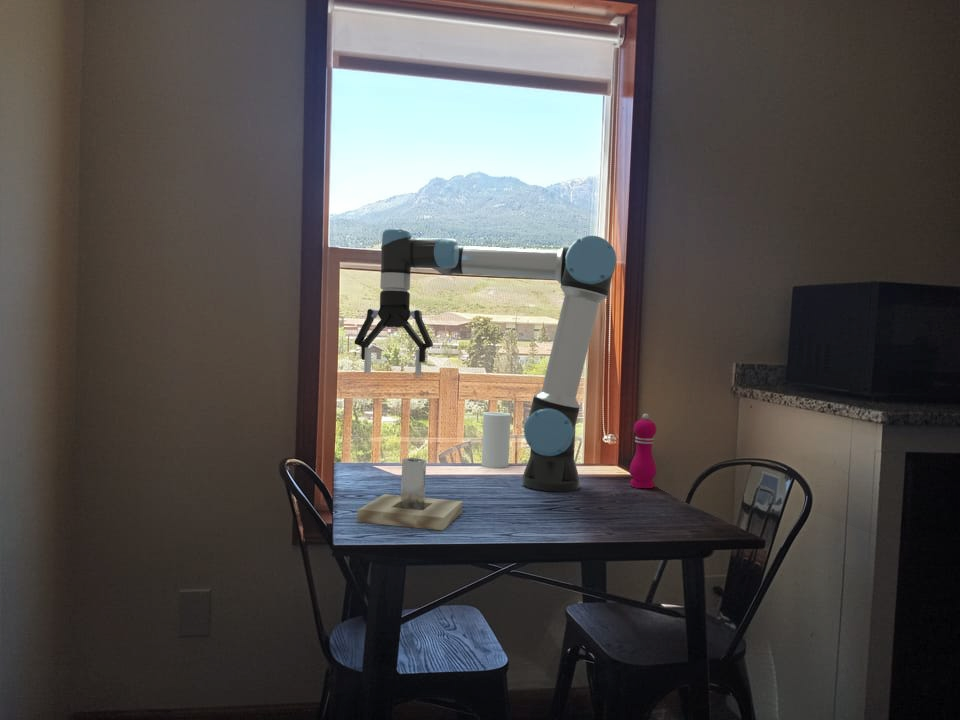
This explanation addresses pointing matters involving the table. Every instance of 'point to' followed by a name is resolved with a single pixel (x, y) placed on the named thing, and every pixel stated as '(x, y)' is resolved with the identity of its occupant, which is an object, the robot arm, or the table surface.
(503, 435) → the cup
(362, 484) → the table surface
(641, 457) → the pepper mill
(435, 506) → the frame
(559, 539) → the table surface
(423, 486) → the tall grey pillar
